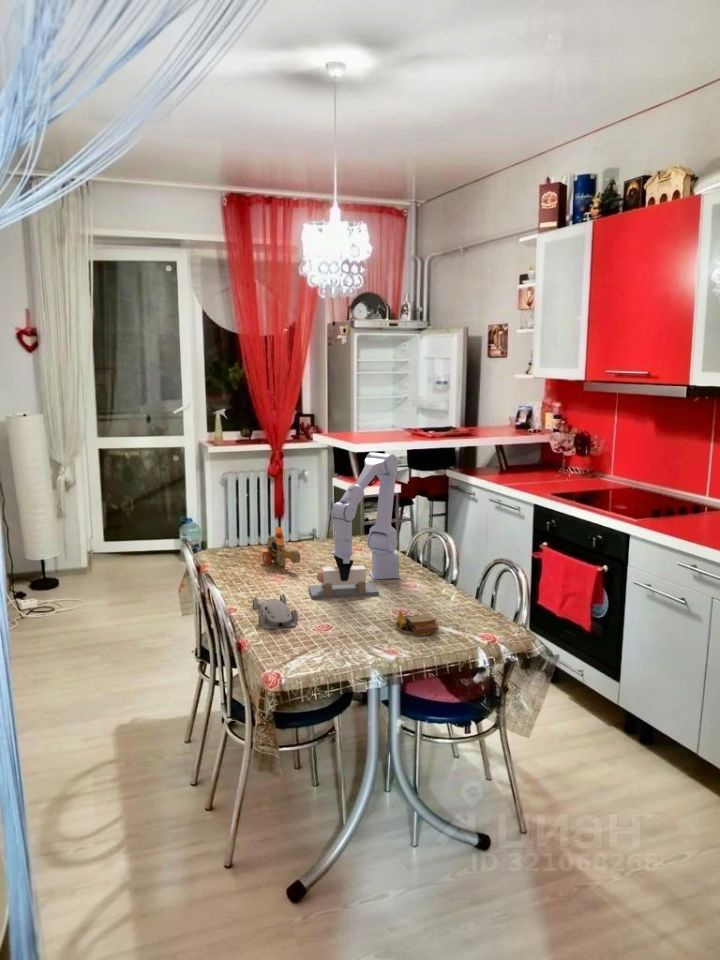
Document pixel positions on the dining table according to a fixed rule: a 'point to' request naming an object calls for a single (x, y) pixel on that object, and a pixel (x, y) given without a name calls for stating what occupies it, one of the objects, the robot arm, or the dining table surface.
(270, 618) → the car model
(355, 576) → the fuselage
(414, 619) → the toy sandwich meal
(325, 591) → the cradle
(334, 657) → the dining table surface
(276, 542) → the toy helicopter
